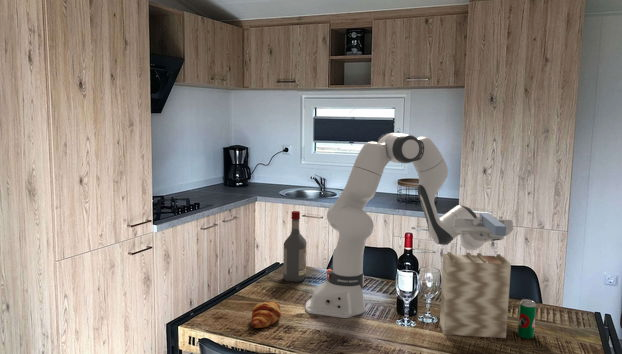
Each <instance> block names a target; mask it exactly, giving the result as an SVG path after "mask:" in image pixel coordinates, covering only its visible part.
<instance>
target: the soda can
mask: <svg viewBox="0 0 622 354" xmlns="http://www.w3.org/2000/svg"><path fill="white" fill-rule="evenodd" d="M536 313H537V304H536V302H535V301H534V300H532V299H526V298H522V299H521V300H520V302H519V308H518V319H517V335H518V336H519V337H520V338H523V339H527V340H531V339H533V338H534V337H535V327H536Z"/></svg>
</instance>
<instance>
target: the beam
mask: <svg viewBox="0 0 622 354" xmlns="http://www.w3.org/2000/svg"><path fill="white" fill-rule="evenodd" d="M478 217H483V222H482V224H483V225H484V226H485V227H486V228H487V229H488V230H490V231H491V232H492V233H493V234H494V235H496V236H504V237H506V226H505V225H504V224H502V223H501V222H500V221H498V220H497V219H498V218H497V217H496V218H497V219H496V218H494V217H495V216H493V215H492V214H490V213H489V212H488V213H486V212H485V213H484V212H479V216H478Z"/></svg>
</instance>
